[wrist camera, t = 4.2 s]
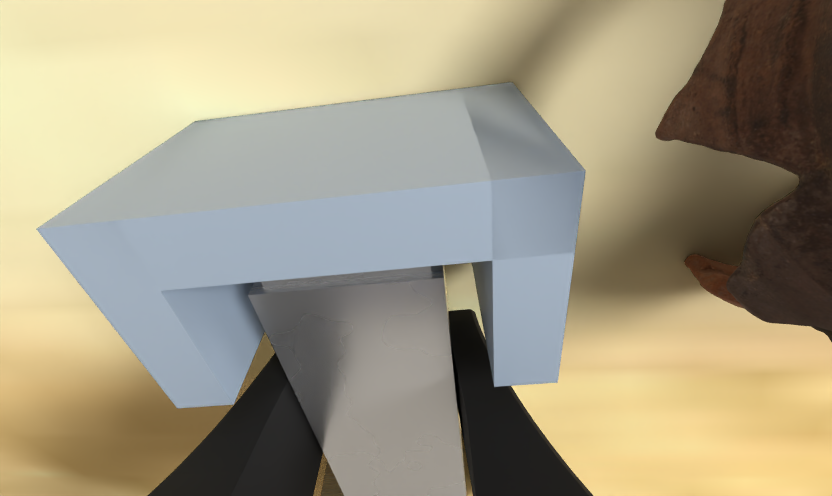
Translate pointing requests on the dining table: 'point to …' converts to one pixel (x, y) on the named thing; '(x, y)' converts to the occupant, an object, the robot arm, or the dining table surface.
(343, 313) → the bar
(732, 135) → the pottery mug
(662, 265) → the dining table surface
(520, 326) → the socket
